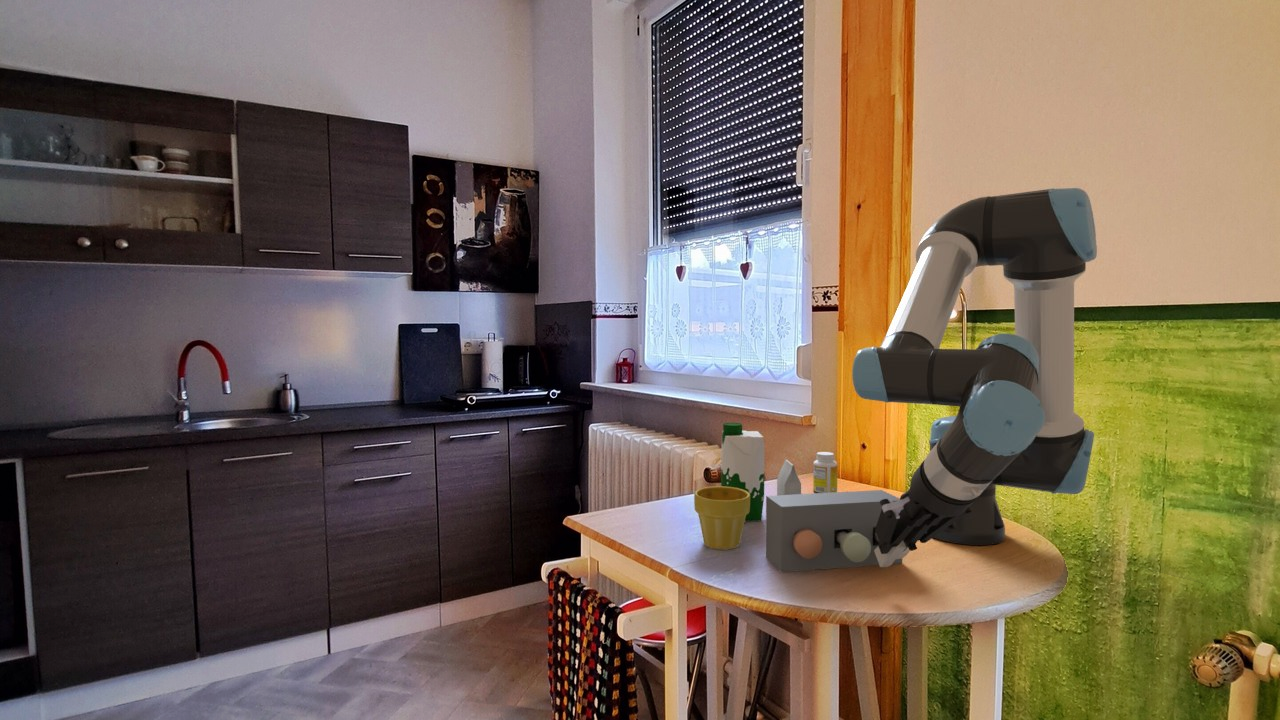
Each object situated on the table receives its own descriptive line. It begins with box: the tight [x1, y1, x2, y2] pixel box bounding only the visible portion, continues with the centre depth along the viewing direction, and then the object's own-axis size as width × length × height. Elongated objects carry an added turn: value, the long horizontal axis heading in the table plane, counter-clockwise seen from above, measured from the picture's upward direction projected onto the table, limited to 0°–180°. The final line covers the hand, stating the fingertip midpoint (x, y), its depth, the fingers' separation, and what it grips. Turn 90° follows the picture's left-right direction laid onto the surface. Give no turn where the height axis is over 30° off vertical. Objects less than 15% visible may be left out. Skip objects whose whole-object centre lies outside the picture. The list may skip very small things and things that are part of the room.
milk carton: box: [720, 422, 765, 522], centre depth 139 cm, size 9×9×20 cm
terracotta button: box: [793, 529, 822, 559], centre depth 109 cm, size 4×6×4 cm
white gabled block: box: [776, 459, 802, 495], centre depth 147 cm, size 4×7×10 cm, turn 2°
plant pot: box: [693, 485, 750, 551], centre depth 121 cm, size 10×10×10 cm
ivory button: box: [873, 531, 910, 560], centre depth 108 cm, size 4×6×4 cm
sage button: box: [835, 531, 871, 562], centre depth 107 cm, size 4×6×4 cm
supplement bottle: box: [812, 451, 838, 494], centre depth 156 cm, size 6×6×10 cm
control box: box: [765, 489, 903, 573], centre depth 113 cm, size 22×7×11 cm, turn 100°
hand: (881, 558), depth 100 cm, fingers closed
